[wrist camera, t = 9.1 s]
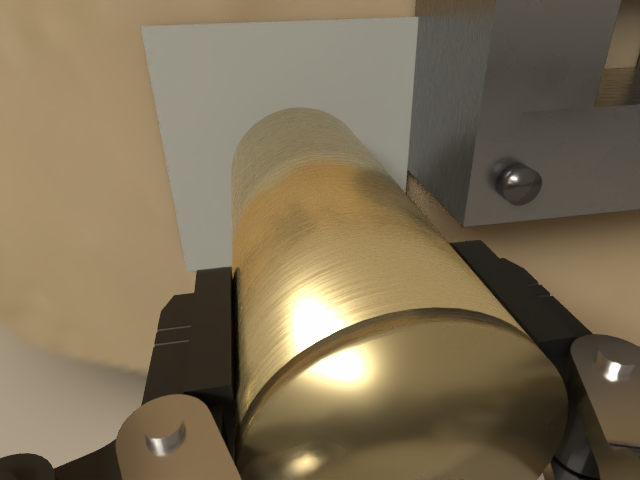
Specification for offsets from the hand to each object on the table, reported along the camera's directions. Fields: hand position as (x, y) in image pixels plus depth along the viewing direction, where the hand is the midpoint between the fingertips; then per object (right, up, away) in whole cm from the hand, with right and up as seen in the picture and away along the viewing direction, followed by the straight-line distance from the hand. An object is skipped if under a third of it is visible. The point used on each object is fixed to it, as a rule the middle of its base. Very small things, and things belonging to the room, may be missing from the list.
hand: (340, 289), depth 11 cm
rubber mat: (-2, +5, +9) cm, 10 cm away
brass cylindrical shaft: (-1, +4, +6) cm, 7 cm away
